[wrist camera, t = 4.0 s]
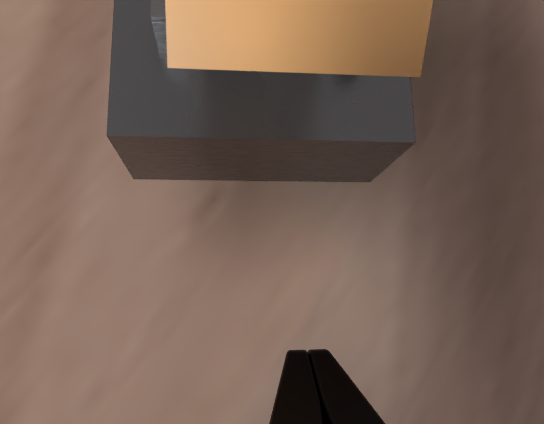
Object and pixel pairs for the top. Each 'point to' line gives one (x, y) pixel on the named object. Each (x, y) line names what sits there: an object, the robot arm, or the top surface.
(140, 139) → the box
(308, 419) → the robot arm
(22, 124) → the top surface
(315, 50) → the lever
